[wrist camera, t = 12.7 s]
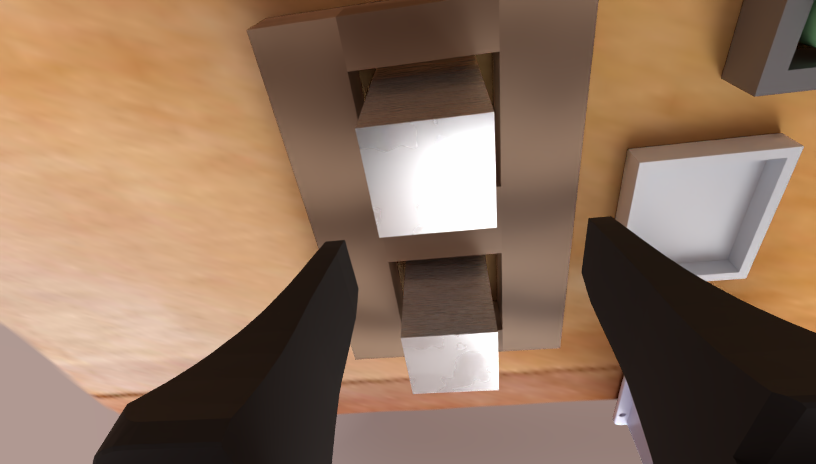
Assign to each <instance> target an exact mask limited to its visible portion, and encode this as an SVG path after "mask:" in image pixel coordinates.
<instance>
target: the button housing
mask: <svg viewBox="0 0 816 464" xmlns="http://www.w3.org/2000/svg"><path fill="white" fill-rule="evenodd" d="M813 2H814V0H744V1H743V5H742V8H741V12H740V15H739V18H738V22H737V25H736V29H735V32H734V36H733V39H732V43H731V46H730V50H729V53H728V57H727V60H726V64H725V67H724V71H723V74H722V78H721V79H723V80H725V81H727V82H729V83H730V84H732V85H734V86H736V87H738V88H740V89H741V90H743V91H745V92H747V93H749V94H751V95H753V96H754V97H755V96H764V95H773V94H782V93H791V92H799V91H808V90H816V48H814V47H808V48H800V49H796V47H797V45H798V42H799V39H800V37H801V34H802V31H803V28H804V26H805V23H806V20H807V18H808V15H809V12H810V10H811V7H812V4H813Z"/></svg>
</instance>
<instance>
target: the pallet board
mask: <svg viewBox="0 0 816 464" xmlns="http://www.w3.org/2000/svg"><path fill="white" fill-rule="evenodd" d="M598 1H599V0H385V1H378V2H371V3H365V4H358V5H351V6H345V7H338V8H332V9H325V10H318V11H312V12H305V13H298V14H292V15H285V16H278V17H272V18H266V19H264V20H262V21H261V22H259V23H257V24H256V25H254V26H252V27H251V28H249V29H248V30H247V33H248V36H249V39H250V42H251V45H252V48H253V51H254V54H255V57H256V60H257V63H258V66H259V69H260V72H261V75H262V78H263V81H264V84H265V87H266V90H267V93H268V96H269V100H270V103H271V106H272V109H273V112H274V115H275V118H276V121H277V124H278V127H279V130H280V133H281V136H282V139H283V142H284V145H285V148H286V151H287V154H288V157H289V160H290V163H291V166H292V169H293V172H294V175H295V178H296V181H297V184H298V187H299V190H300V193H301V196H302V199H303V202H304V205H305V208H306V211H307V214H308V217H309V220H310V223H311V226H312V230H313V233H314V236H315V239H316V242H317V245H318V248H319V249H320V248H321V246H322V245H323V244H324V243H325V242H326V241H337V240H345V242H346V246H347V249H348V253H349V256H350V260H351V263H352V267H353V270H354V274H355V278H356V281H357V285H358V288H359V290H358V303H357V313H356V320H355V325H354V329H353V334H352V338H351V343H350V344H351V347H352V350H353V353H354V357H355V360H356V359H374V358H392V357H405V355H404V351H403V346H402V342H401V325H402V310H403V291H402V286H401V281H400V276H399V271H398V266H397V261H409V260H421V259H434V258H446V257H458V256H471V255H483V254H495V253H496V258H497V301H494V302H493V307H494V313H495V319H496V325H497V331H498V352H499V351H517V350H535V349H553V348H560V344H561V335H562V326H563V317H564V308H565V299H566V290H567V281H568V272H569V263H570V254H571V245H572V236H573V227H574V218H575V209H576V200H577V190H578V181H579V172H580V163H581V154H582V145H583V136H584V127H585V118H586V109H587V100H588V91H589V82H590V73H591V64H592V55H593V46H594V37H595V28H596V19H597V10H598ZM485 53H492V60H493V109H494V120H495V168H496V217H497V227H495V228H484V229H472V230H461V231H450V232H438V233H427V234H416V235H404V236H393V237H382V238H379V234H378V229H377V225H376V220H375V216H374V211H373V207H372V202H371V198H370V193H369V189H368V184H367V180H366V175H365V171H364V166H363V162H362V157H361V153H360V148H359V144H358V139H357V135H356V130H355V127H356V124H357V122H358V119H359V116H360V113H361V110H362V107H363V105H364V102H365V101H364V96H363V91H362V86H361V81H360V76H359V71H358V70H364V69H372V68H379V67H387V66H394V65H402V64H409V63H417V62H425V61H432V60H440V59H447V58H455V57H462V56H470V55H477V54H485Z"/></svg>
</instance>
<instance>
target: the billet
mask: <svg viewBox="0 0 816 464" xmlns="http://www.w3.org/2000/svg"><path fill="white" fill-rule="evenodd" d="M355 130H356V135H357V139H358V144H359V148H360V153H361V157H362V162H363V166H364V171H365V175H366V180H367V184H368V189H369V193H370V198H371V202H372V207H373V211H374V216H375V220H376V225H377V229H378V234H379V238H382V237H393V236H404V235H416V234H427V233H438V232H450V231H461V230H472V229H484V228H495V227H497V217H496V168H495V120H494V110H493V107H492V104H491V101H490V98H489V95H488V92H487V89H486V86H485V83H484V80H483V77H482V74H481V71H480V69H479V66H478V63H477V60H476V57H475V55H470V56H462V57H455V58H447V59H440V60H432V61H425V62H417V63H409V64H402V65H394V66H387V67H379V68H376V70H375V73H374V76H373V79H372V82H371V85H370V87H369V90H368V93H367V96H366V99H365V102H364V105H363V107H362V110H361V113H360V116H359V119H358V122H357V124H356V127H355Z"/></svg>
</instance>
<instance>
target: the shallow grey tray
mask: <svg viewBox="0 0 816 464" xmlns="http://www.w3.org/2000/svg"><path fill="white" fill-rule="evenodd" d="M803 148H804V146H803V145H801V144H799V143H798V142H796V141H794V140H793V139H791V138H789V137H788V136H786V135H784V134H783V133H776V134H766V135H757V136H747V137H738V138H728V139H718V140H709V141H699V142H690V143H680V144H670V145H661V146H651V147H642V148H632V149H628V150H627V156H626V161H625V167H624V173H623V178H622V184H621V189H620V195H619V201H618V206H617V212H616V217H615V220H617V221H618V222H620V223H621V224H622V225H624V226H625V227H626V228H628V229H629V230H630V231H632V232H633V233H635V234H636V235H637V236H639V237H640V238H641V239H643V240H644V241H645V242H647V243H648V244H650V245H651V246H652V247H654V248H655V249H657V250H658V251H660V252H661V253H662V254H664V255H665V256H667V257H668V258H670V259H671V260H673V261H674V262H676V263H677V264H679V265H680V266H682V267H684V268H685V269H687V270H688V271H690V272H692V273H693V274H695V275H697V276H698V277H700V278H701V279H703V280H705V281H716V280H731V279H745V278H746V277H747V275H748V273H749V270H750V268H751V266H752V264H753V261H754V259H755V257H756V255H757V252H758V250H759V248H760V245H761V243H762V241H763V239H764V236H765V234H766V232H767V230H768V227H769V225H770V223H771V220H772V218H773V216H774V214H775V211H776V209H777V207H778V205H779V202H780V200H781V198H782V195H783V193H784V191H785V189H786V186H787V184H788V182H789V180H790V177H791V175H792V173H793V170H794V168H795V166H796V164H797V161H798V159H799V157H800V154H801V152H802V150H803Z"/></svg>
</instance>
